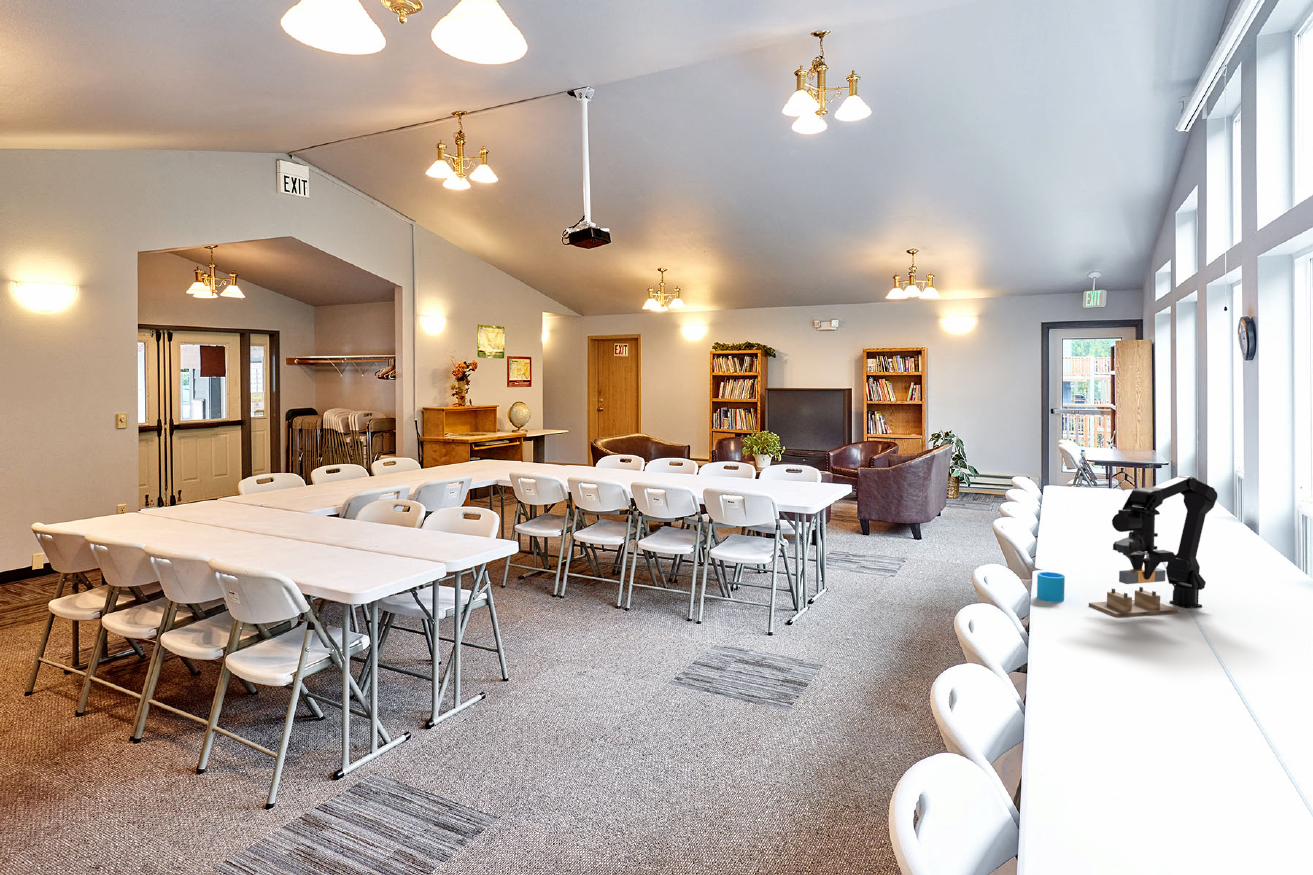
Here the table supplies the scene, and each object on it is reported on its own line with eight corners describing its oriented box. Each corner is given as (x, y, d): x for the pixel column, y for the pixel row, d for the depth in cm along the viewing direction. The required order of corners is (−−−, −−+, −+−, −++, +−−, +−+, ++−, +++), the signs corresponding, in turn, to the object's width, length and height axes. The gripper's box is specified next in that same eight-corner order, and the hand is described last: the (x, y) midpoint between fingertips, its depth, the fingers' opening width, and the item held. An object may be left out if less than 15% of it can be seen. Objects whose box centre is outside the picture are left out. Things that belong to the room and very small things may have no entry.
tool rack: (1148, 601, 249) (1149, 583, 248) (1179, 612, 237) (1179, 593, 236) (1088, 605, 245) (1089, 587, 245) (1116, 616, 234) (1116, 597, 233)
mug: (1059, 603, 248) (1060, 579, 248) (1033, 598, 254) (1034, 575, 254) (1070, 596, 257) (1071, 572, 256) (1045, 591, 263) (1045, 568, 262)
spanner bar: (1157, 578, 240) (1157, 567, 240) (1165, 581, 237) (1165, 569, 237) (1118, 581, 238) (1119, 570, 238) (1126, 584, 235) (1127, 572, 234)
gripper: (1098, 525, 244) (1097, 572, 245) (1145, 536, 226) (1144, 587, 227) (1128, 523, 246) (1127, 570, 247) (1177, 534, 228) (1176, 585, 229)
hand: (1142, 577), depth 238 cm, fingers closed on spanner bar, 3 cm apart
